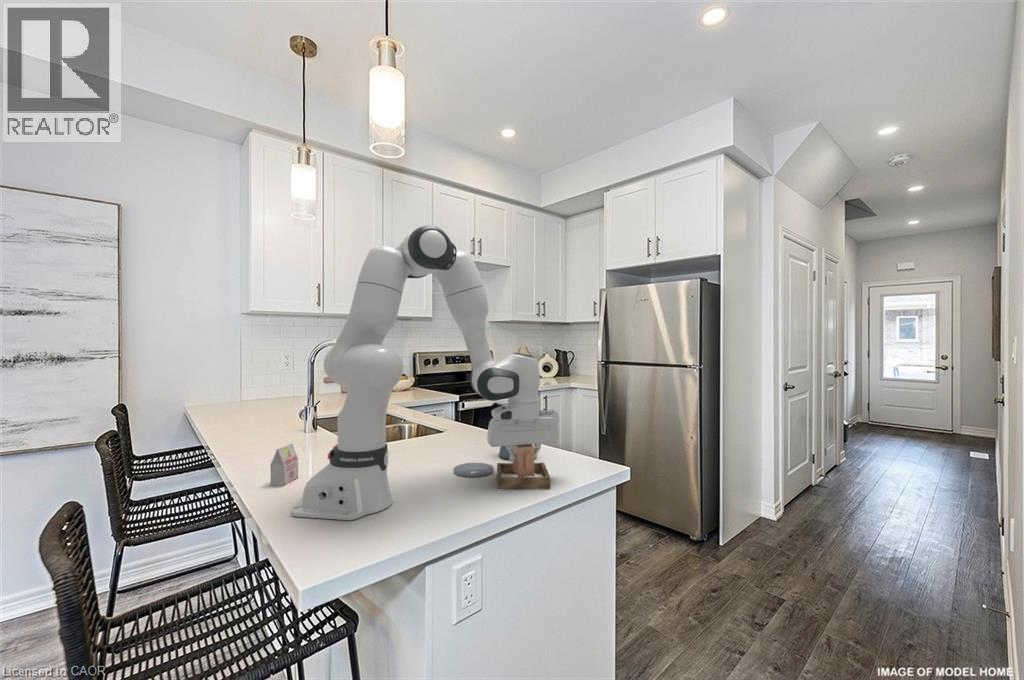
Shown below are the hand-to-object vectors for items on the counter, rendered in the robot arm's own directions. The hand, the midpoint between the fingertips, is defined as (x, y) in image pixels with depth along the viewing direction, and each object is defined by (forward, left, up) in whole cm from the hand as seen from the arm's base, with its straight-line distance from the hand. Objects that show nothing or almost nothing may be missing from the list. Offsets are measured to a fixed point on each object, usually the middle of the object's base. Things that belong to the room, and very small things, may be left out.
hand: (523, 460), depth 125 cm
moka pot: (-2, +25, -6) cm, 26 cm away
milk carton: (-66, +2, -6) cm, 67 cm away
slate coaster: (-14, +10, -6) cm, 18 cm away
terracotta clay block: (0, 0, -4) cm, 4 cm away
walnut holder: (0, +1, -6) cm, 6 cm away
